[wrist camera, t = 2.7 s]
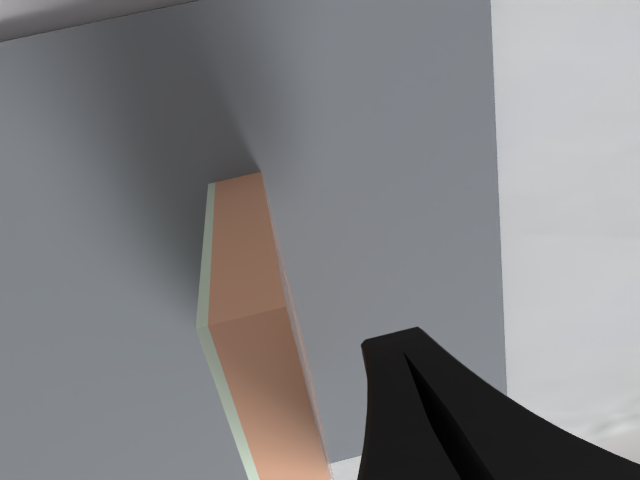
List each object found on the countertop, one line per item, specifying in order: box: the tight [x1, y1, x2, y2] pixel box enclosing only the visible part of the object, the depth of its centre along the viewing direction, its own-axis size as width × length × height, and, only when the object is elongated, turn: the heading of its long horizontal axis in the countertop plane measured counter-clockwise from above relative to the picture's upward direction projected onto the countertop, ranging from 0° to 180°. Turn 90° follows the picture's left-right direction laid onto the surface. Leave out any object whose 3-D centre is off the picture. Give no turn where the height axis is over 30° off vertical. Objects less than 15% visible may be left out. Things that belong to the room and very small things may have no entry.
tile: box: [196, 172, 334, 480], centre depth 14 cm, size 2×7×7 cm, turn 11°
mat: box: [0, 0, 507, 480], centre depth 17 cm, size 18×16×1 cm
